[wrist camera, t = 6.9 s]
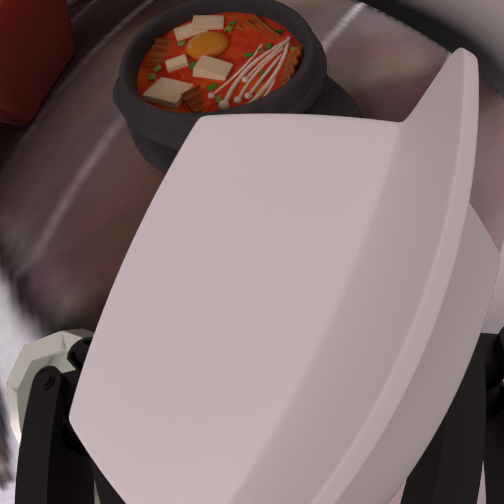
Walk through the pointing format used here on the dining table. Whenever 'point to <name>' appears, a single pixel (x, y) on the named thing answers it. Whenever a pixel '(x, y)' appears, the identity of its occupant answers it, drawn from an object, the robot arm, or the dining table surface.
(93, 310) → the dining table surface
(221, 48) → the casserole
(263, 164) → the milk
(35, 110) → the plant pot
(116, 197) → the dining table surface
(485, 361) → the robot arm
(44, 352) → the bowl
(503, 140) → the dining table surface
